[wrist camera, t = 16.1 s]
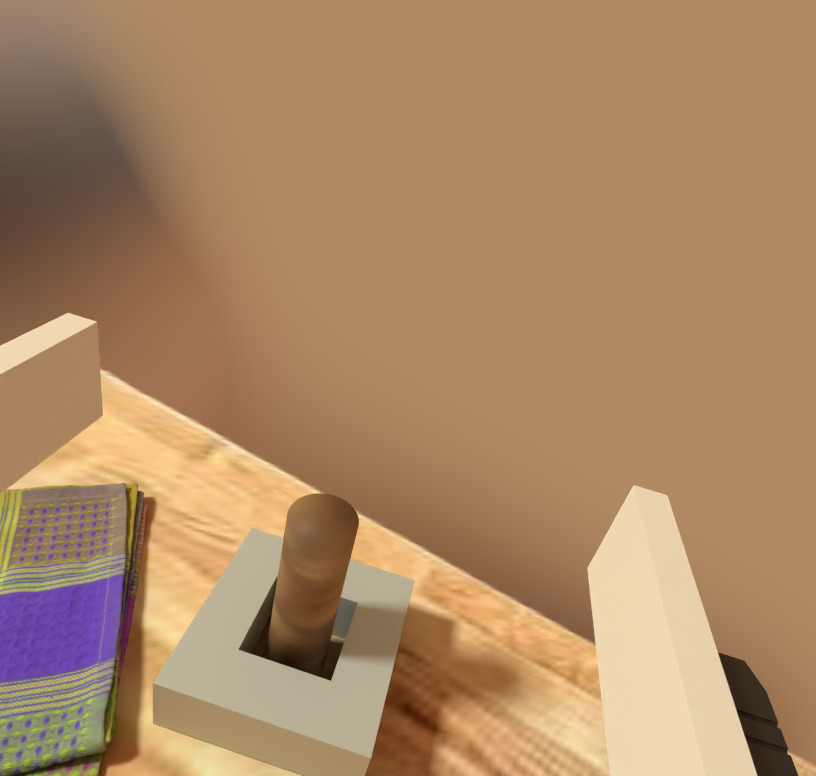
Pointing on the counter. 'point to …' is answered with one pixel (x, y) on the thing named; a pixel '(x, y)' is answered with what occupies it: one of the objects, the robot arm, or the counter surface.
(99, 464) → the counter surface
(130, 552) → the dish towel
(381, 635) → the socket block
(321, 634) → the walnut dowel
